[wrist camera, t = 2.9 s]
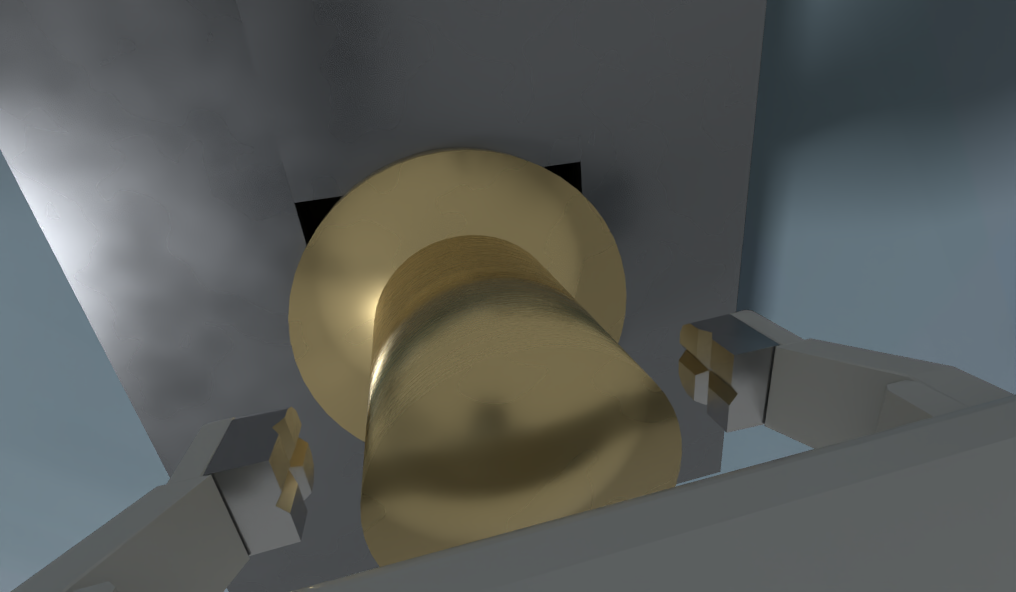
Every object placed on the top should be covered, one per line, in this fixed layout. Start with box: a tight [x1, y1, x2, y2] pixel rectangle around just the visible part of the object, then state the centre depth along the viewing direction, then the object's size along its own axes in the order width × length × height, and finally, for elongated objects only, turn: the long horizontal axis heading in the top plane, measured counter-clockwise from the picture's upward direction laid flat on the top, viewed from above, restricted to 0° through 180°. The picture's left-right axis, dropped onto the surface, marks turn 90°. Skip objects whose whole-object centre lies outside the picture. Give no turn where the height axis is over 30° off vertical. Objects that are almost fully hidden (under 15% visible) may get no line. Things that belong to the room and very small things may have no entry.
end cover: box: [288, 147, 682, 567], centre depth 12 cm, size 9×9×12 cm
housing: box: [0, 0, 767, 592], centre depth 17 cm, size 18×18×7 cm
